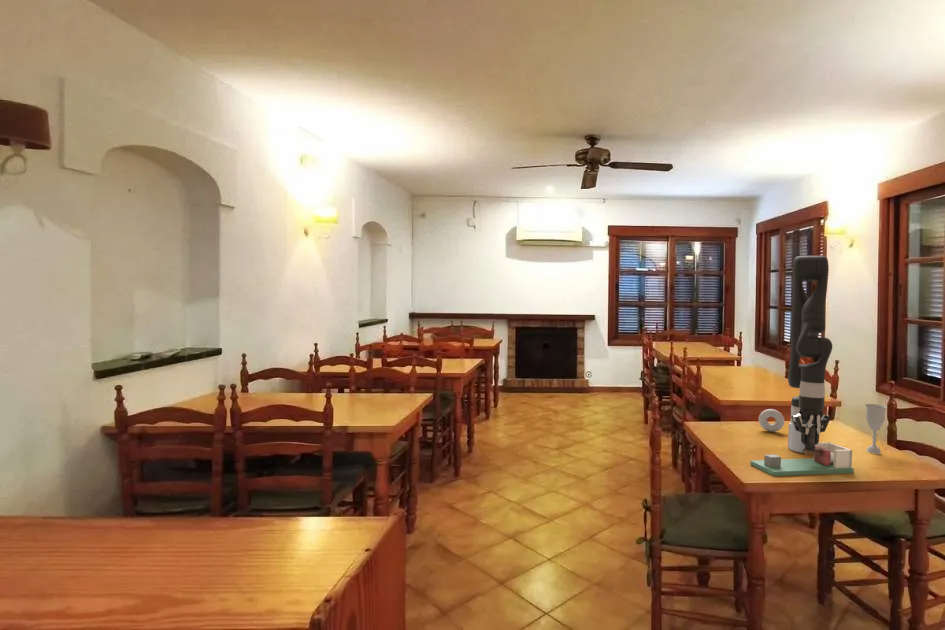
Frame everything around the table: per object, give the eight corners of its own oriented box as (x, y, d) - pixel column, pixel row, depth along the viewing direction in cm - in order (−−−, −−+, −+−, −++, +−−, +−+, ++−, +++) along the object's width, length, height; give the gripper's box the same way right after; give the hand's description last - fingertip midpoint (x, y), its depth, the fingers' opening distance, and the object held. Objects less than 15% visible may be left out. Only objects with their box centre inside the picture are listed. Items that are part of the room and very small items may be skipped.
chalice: (888, 455, 212) (891, 408, 211) (868, 454, 214) (870, 407, 213) (878, 450, 219) (881, 404, 218) (859, 449, 221) (861, 403, 220)
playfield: (750, 464, 199) (750, 451, 199) (826, 462, 203) (827, 448, 203) (773, 476, 187) (773, 461, 187) (853, 472, 192) (854, 458, 191)
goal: (813, 459, 201) (814, 442, 201) (828, 458, 202) (829, 442, 202) (835, 468, 192) (836, 450, 191) (851, 467, 192) (852, 450, 192)
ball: (829, 462, 199) (819, 460, 198) (832, 451, 199) (822, 449, 198) (838, 466, 195) (828, 464, 194) (841, 454, 195) (831, 452, 194)
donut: (757, 430, 247) (758, 408, 247) (758, 429, 250) (759, 406, 250) (783, 434, 242) (784, 411, 242) (784, 432, 245) (785, 409, 245)
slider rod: (798, 461, 198) (800, 424, 197) (819, 460, 199) (820, 424, 198) (809, 465, 193) (810, 428, 192) (830, 465, 194) (831, 427, 193)
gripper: (821, 392, 199) (819, 440, 200) (785, 393, 197) (783, 441, 198) (838, 396, 192) (836, 446, 193) (801, 397, 190) (799, 447, 191)
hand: (809, 443), depth 195 cm, fingers closed on slider rod, 3 cm apart
